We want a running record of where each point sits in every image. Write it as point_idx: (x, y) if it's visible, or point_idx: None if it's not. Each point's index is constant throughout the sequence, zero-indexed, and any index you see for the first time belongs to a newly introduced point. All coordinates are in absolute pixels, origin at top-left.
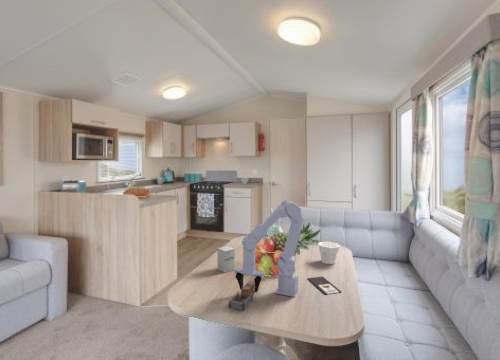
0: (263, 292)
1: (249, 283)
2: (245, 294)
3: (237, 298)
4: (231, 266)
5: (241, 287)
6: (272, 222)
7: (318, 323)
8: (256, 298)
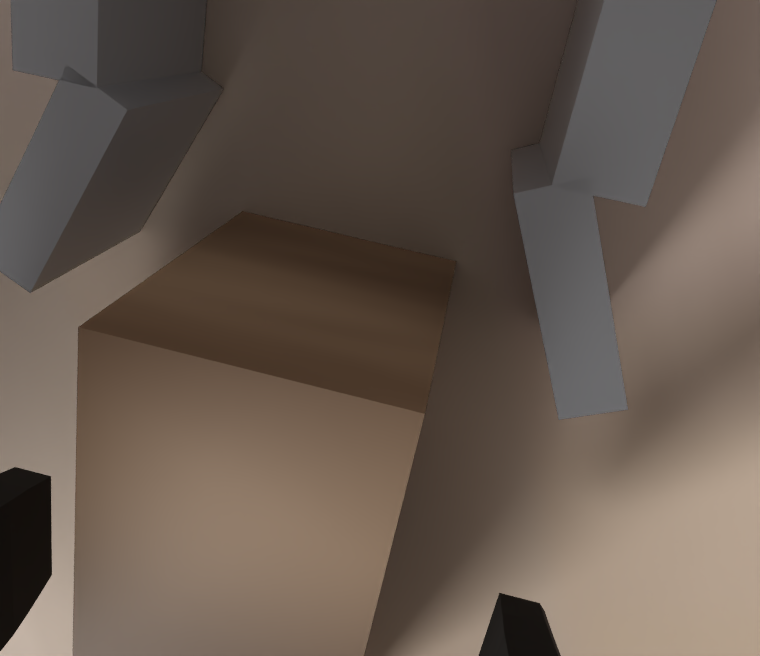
0: (34, 614)
1: None
2: (275, 284)
3: (551, 132)
4: None
5: (495, 650)
6: None
7: None
8: None
